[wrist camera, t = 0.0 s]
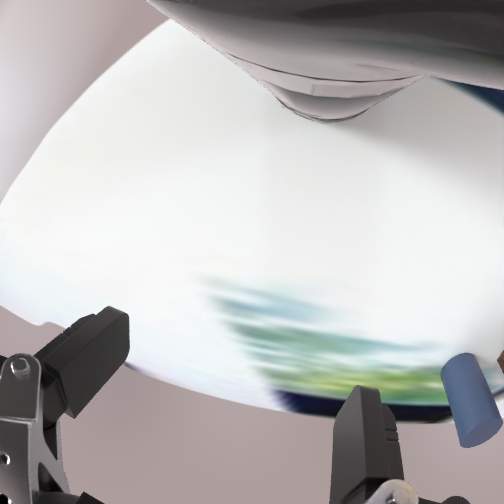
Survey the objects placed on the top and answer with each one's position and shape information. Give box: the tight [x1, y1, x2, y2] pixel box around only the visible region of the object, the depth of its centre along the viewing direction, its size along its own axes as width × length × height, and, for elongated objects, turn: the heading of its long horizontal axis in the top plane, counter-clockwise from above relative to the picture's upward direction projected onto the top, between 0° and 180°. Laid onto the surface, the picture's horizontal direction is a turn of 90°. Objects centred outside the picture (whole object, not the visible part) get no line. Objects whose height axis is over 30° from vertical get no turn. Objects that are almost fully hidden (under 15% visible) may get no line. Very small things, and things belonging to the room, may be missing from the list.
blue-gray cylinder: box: [441, 353, 503, 448], centre depth 22 cm, size 5×5×10 cm
